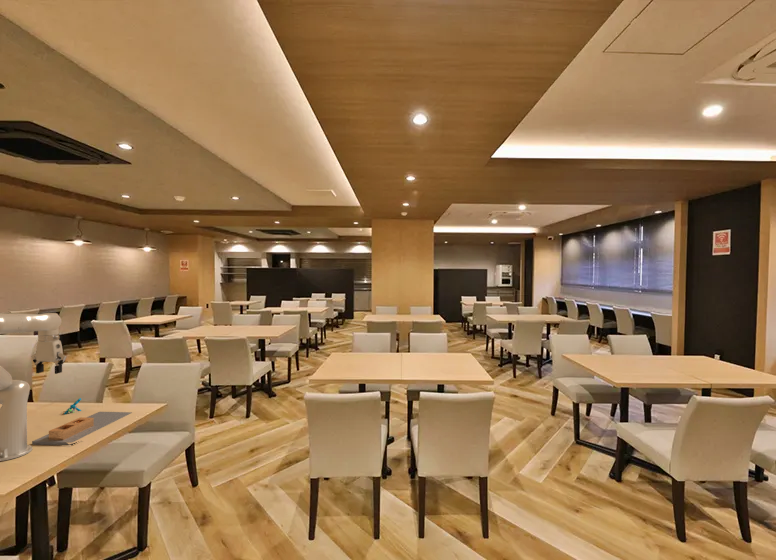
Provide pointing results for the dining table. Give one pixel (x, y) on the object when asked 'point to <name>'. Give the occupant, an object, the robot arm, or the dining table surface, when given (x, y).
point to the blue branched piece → (73, 407)
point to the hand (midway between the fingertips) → (49, 372)
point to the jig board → (99, 421)
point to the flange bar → (71, 428)
